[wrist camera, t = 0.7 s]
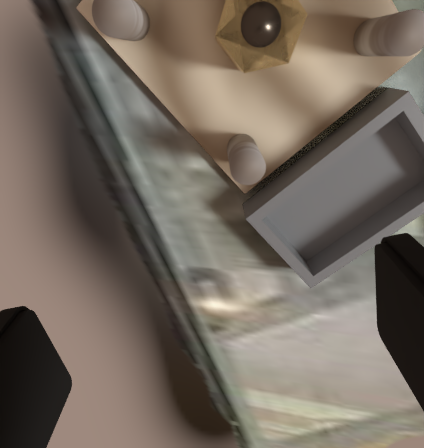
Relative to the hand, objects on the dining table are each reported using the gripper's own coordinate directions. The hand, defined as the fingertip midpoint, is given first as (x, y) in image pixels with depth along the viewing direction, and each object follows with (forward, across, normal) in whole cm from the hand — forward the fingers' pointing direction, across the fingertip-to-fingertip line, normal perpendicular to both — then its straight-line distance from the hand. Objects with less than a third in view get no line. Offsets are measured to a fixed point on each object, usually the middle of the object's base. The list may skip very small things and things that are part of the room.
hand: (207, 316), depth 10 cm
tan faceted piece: (+24, -5, -7) cm, 25 cm away
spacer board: (+24, -5, -7) cm, 26 cm away
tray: (+24, -11, +8) cm, 28 cm away
